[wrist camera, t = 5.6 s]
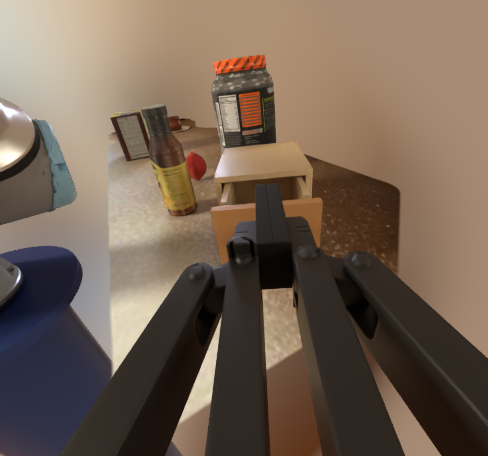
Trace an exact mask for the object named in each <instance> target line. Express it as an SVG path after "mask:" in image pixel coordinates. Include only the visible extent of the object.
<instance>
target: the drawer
mask: <svg viewBox="0 0 488 456" xmlns="http://www.w3.org/2000/svg"><path fill="white" fill-rule="evenodd" d="M274 183H278V186H279V190H280V194H281V199H282V203H283V207H284V211H285V215H286V217H297V216H302V217H304V218H305V219H306V220H307V221H308V224H309V227H310V229H311V232H312V234H313V237H314V239H315V242H316V245H317V247H318V248H319V246H320V233H321V219H322V205H323V202H322V200H321V198H320V197H319V198H310V193H309V191H308V189H307V187H306V185H305V183H304V181H303V179H302V176H290V177H279V178H269V179H258V180H248V181H237V182H227V183H225V186H224V190H223V194H222V198H221V202H220V204H221V206H215V207H212V209H211V216H212V221H213V226H214V230H215V235H216V240H217V244H218V249H219V254H220V259H221V263H222V265H223V264H225V263H227V262H228V261H229V258H228V253H227V248H226V244H227V242H228V241H229V240H230V239H231V238H233V237H234V234H235V227H236V226H237V224H238V223H239V222H245V221H256V206H255V185H263V184H274Z"/></svg>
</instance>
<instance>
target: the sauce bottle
mask: <svg viewBox="0 0 488 456" xmlns="http://www.w3.org/2000/svg"><path fill="white" fill-rule="evenodd" d="M141 112H142V116H143V118H144V119H145V121H146V125H147V128H148V131H149V135H150V148H149V158H150V161H151V164H152V167H153V170H154V173H155V176H156V179H157V181H158V184H159V187H160V190H161V193H162V196H163V199H164V202H165V205H166V207H167V209H168V211H169V213H170V214H171V215H176V216H179V215H186V214H189V213H191V212H192V211H193V210H194V209H195V208H196V207H197V204H196V201H195V200H196V198H195V193H194V189H193V185H192V182H191V178H190V174H189V170H188V166H187V162H186V158H185V157H184V153H183V149H182V146H181V143H180V142H179V141H178V140H177V138H175V136H174V135H173V134H172V133H171V128H170V125H169V121H168V118H167V110H166V106H165V105H164V104H159V105H151V106H147V107H143V108H141Z"/></svg>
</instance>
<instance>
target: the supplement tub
mask: <svg viewBox="0 0 488 456" xmlns="http://www.w3.org/2000/svg"><path fill="white" fill-rule="evenodd" d="M214 72H215V74H216V79H215V81H214V82H213V85H212V98H213V104H214V110H215V116H216V122H217V128H218V133H219V139H220V145H221V151H222V154H223V151H224V149H225V148H235V147H244V146H253V145H263V144H272V143H276V129H275V105H274V88H273V81H272V78H271V76H270V75H269V74H268V72H267V70H266V62H265V56H264V55H256V56H248V57H240V58H234V59H227V60H222V61H217V62H215V63H214Z"/></svg>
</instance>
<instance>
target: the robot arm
mask: <svg viewBox="0 0 488 456" xmlns="http://www.w3.org/2000/svg"><path fill="white" fill-rule="evenodd" d="M76 197H77V193H76V188H75V185H74V183H73V180H72V178H71V175H70V172H69V170H68V167H67V165H66V162H65V160H64V157H63V154H62V152H61V149H60V146H59V144H58V142H57V139H56V137H55V135H54V132H53V130H52V128H51V125H50V124H49V123H48V122H47V121H44V120H36V119H34V120H31V119H30V118H29V117H28V116H27V114H26V113H25V112H24V111H23V110H22V109H21V108H19V107H18V106H16V105H15V104H13V103H11V102H9V101H6V100H4V99H1V98H0V225H2V224H6V223H9V222H13V221H17V220H20V219H23V218H27V217H31V216H34V215H38V214H41V213H44V212H51V211H54V210H55V209H56V208H59V207H62V206H65V205H67V204H70V203H72V202H73V201H74V200H75V199H76ZM255 206H256V221H245V222H239V223H238V224H237V226H236V227H235V234H234V237H233V238H231V239H230V240H229V241H228V242H227V244H226V248H227V253H228V258H229V261H228V262H227V263H225V264H223V265H221V266H218V267H215V268H212V267H211V266H210V265H209V264H206V263H196V264H193V265H191V266H189V267H187V268H186V269H185V270H184V272H183V273H182V274H181V276H180V277H179V279H178V280H177V282H176V283H175V285H174V286H173V288H172V289H171V291H170V292H169V294H168V295H167V297H166V298H165V300H164V301H163V303H162V304H161V306H160V307H159V309H158V310H157V312H156V313H155V315H154V316H153V317H152V319H151V320H150V322H149V323H148V325H147V326H146V328H145V329H144V331H143V332H142V334H141V335H140V337H139V338H138V340H137V341H136V343H135V344H134V346H133V347H132V349H131V350H130V352H129V353H128V355H127V356H126V358H125V359H124V360H123V362H122V363H121V365H120V366H119V368H118V369H117V371H116V372H115V374H114V375H113V377H112V378H111V380H110V381H109V383H108V384H107V386H106V387H105V389H104V390H103V392H102V393H101V395H100V396H99V398H98V399H97V401H96V402H95V403H94V405H93V406H92V408H91V409H90V411H89V412H88V414H87V415H86V417H85V418H84V420H83V421H82V423H81V424H80V426H79V427H78V429H77V430H76V432H75V433H74V435H73V436H72V438H71V439H70V441H69V442H68V444H67V445H66V446H65V448H64V449H63V451H62V452H61V454H60V455H59V456H165V454H166V452H167V449H168V447H169V445H170V442H171V440H172V437H173V434H174V432H175V430H176V427H177V425H178V422H179V420H180V417H181V415H182V412H183V410H184V407H185V405H186V402H187V400H188V397H189V395H190V392H191V390H192V387H193V385H194V383H195V380H196V378H197V375H198V373H199V370H200V368H201V365H202V363H203V360H204V358H205V355H206V353H207V350H208V348H209V345H210V343H211V340H212V338H213V335H214V333H215V330H216V328H217V326H218V323H219V321H220V318H221V316H222V319H221V327H220V336H219V344H218V352H217V360H216V368H215V377H214V385H213V393H212V401H211V410H210V419H209V426H208V434H207V442H206V450H205V456H270V438H269V420H268V400H267V399H268V398H267V379H266V358H265V338H264V319H263V299H262V289H279V288H292V284H293V307H295V308H296V313H297V319H298V324H299V330H300V335H301V341H302V346H303V352H304V357H305V362H306V368H307V373H308V379H309V384H310V390H311V395H312V401H313V406H314V411H315V417H316V422H317V428H318V433H319V439H320V444H321V449H322V455H323V456H405V454H404V452H403V449H402V447H401V444H400V442H399V439H398V437H397V434H396V432H395V429H394V427H393V424H392V422H391V419H390V417H389V415H388V412H387V409H386V407H385V404H384V402H383V399H382V397H381V394H380V392H379V390H378V387H377V384H376V382H375V379H374V377H373V374H372V372H371V369H370V367H369V364H368V362H367V359H366V357H365V354H364V352H363V349H362V347H361V344H360V342H359V339H358V337H357V334H358V335H359V337H360V338H361V340H362V341H363V343H364V344H365V346H366V347H367V348H368V350H369V351H370V353H371V354H372V355H373V357H374V359H375V360H376V361H377V363H378V364H379V366H380V367H381V369H382V370H383V372H384V373H385V374H386V376H387V377H388V379H389V380H390V382H391V383H392V384H393V386H394V388H395V389H396V390H397V392H398V393H399V395H400V396H401V397H402V399H403V401H404V402H405V403H406V405H407V406H408V408H409V409H410V411H411V412H412V413H413V415H414V416H415V418H416V419H417V421H418V422H419V424H420V425H421V427H422V428H423V430H424V431H425V432H426V434H427V435H428V437H429V438H430V440H431V441H432V443H433V444H434V445H435V447H436V448H437V450H438V451H439V453H440V454H441V455H442V456H488V358H487V357H485V356H484V355H483V354H482V353H481V352H480V351H479V350H478V349H477V348H476V347H475V346H473V345H472V344H471V343H470V342H469V341H468V340H467V339H466V338H465V337H463V336H462V335H461V334H460V333H459V332H458V331H457V330H456V329H455V328H454V327H452V326H451V325H450V324H449V323H448V322H447V321H446V320H444V318H442V317H441V316H440V315H439V314H438V313H437V312H436V311H435V310H434V309H432V308H431V307H430V306H429V305H428V304H427V303H426V302H425V301H424V300H423V299H422V298H420V297H419V296H418V295H417V294H416V293H415V292H414V291H413V290H412V289H410V288H409V287H408V286H407V285H406V284H405V283H404V282H403V281H402V280H401V279H400V278H398V277H397V276H396V275H395V274H394V273H393V272H392V271H391V270H390V269H388V268H387V267H386V266H385V265H384V264H383V263H382V262H381V261H380V260H379V259H377V258H376V257H375V256H373V255H372V254H369V253H366V252H362V251H354V252H350V253H348V254H347V255H346V256H345V257H344V259H341V258H334V257H330V256H327V255H325V254H324V252H323V251H322V250H321V249H320V248H318V247H317V245H316V242H315V239H314V237H313V234H312V232H311V229H310V227H309V224H308V221H307V220H306V219H305V218H304V217H302V216H297V217H286V215H285V211H284V207H283V203H282V199H281V194H280V190H279V186H278V183H274V184H263V185H255ZM25 285H26V277H25V276H24V274H23V273H22V272H21V271H20V269H19V268H18V267H17V266H15V265H13V264H12V263H10V262H8V261H6V260H4V259H3V258H1V257H0V314H1V313H2V312H3V311H5V310H6V309H7V308H8V307H9V306H10V305H11V304H12V303H13V302H14V301H15V300H16V299H17V298H18V297H19V295H20V294H21V293H22V291H23V289H24V287H25ZM355 331H356V332H357V334H356V332H355Z"/></svg>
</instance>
